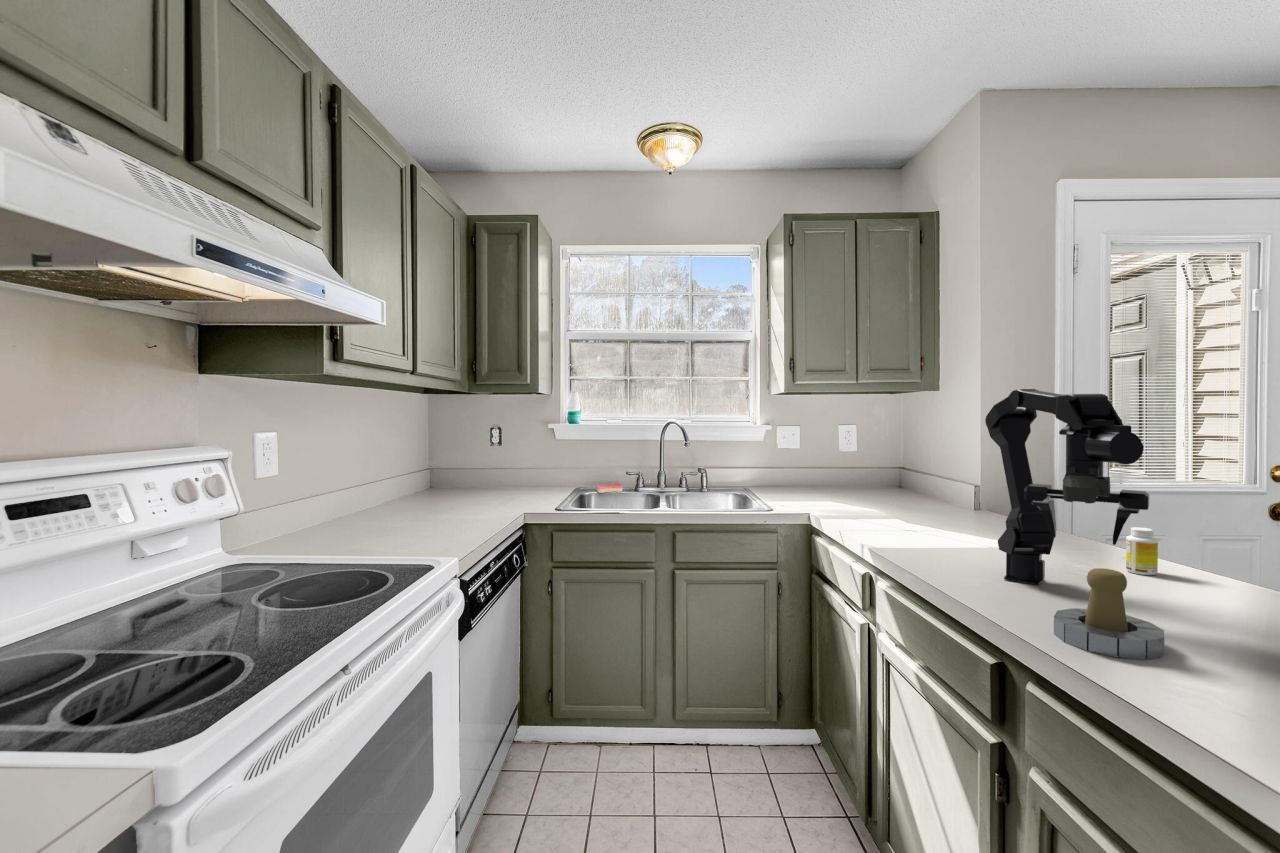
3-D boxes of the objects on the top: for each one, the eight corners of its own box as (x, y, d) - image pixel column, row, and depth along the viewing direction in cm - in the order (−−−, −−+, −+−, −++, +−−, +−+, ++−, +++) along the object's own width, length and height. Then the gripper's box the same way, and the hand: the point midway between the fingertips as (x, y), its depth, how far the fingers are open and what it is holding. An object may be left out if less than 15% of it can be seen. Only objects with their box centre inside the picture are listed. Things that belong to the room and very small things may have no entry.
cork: (1076, 627, 100) (1077, 564, 100) (1117, 630, 99) (1118, 566, 98) (1093, 641, 94) (1094, 573, 94) (1137, 644, 93) (1138, 576, 93)
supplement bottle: (1163, 575, 133) (1164, 530, 133) (1144, 576, 132) (1145, 532, 132) (1138, 568, 138) (1138, 525, 138) (1119, 570, 137) (1120, 527, 137)
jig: (1048, 642, 96) (1048, 624, 96) (1061, 619, 106) (1061, 603, 106) (1162, 667, 87) (1162, 647, 86) (1165, 639, 97) (1165, 621, 97)
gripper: (1018, 460, 112) (1017, 541, 112) (1147, 465, 99) (1145, 556, 100) (1029, 456, 120) (1028, 531, 120) (1149, 460, 107) (1148, 545, 108)
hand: (1083, 540), depth 112 cm, fingers open, 9 cm apart
